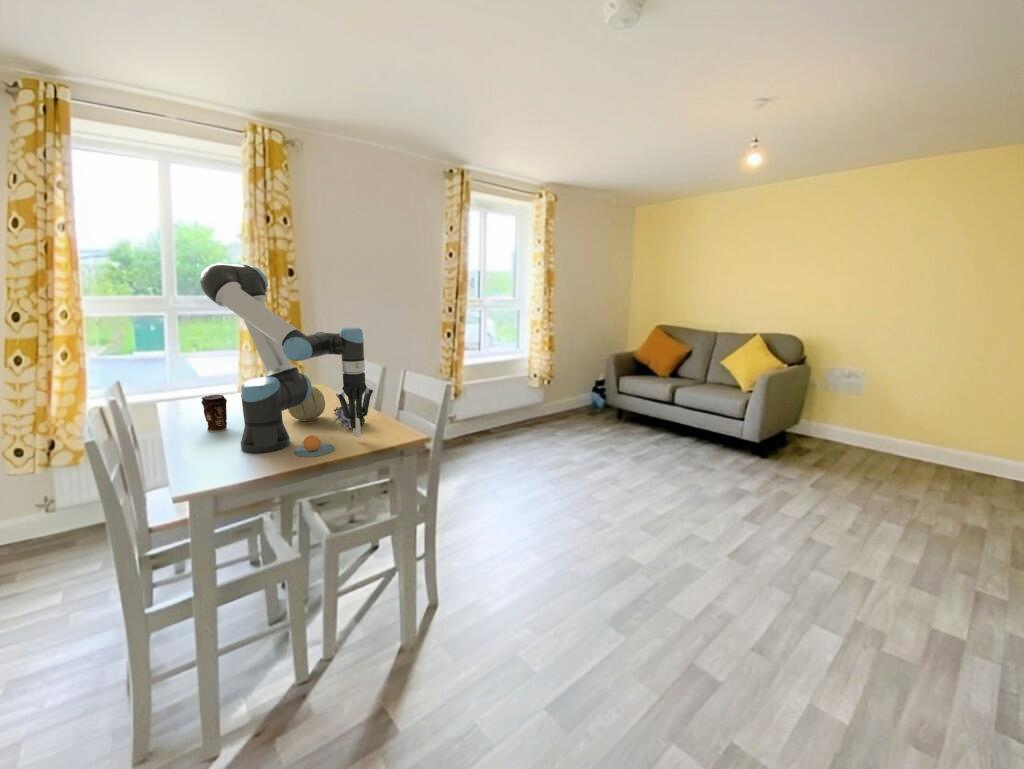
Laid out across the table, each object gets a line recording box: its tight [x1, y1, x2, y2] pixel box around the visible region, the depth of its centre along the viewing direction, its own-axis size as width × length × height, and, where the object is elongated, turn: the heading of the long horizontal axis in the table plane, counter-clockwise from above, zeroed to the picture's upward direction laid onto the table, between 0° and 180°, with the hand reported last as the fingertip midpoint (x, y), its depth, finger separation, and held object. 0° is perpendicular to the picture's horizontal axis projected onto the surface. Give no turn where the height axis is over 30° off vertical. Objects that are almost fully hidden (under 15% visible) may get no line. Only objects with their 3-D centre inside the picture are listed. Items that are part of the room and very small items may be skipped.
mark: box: [293, 442, 336, 458], centre depth 161 cm, size 13×13×1 cm
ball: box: [302, 434, 322, 452], centre depth 159 cm, size 6×6×6 cm
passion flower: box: [333, 401, 366, 429], centre depth 188 cm, size 11×11×12 cm
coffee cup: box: [200, 394, 228, 433], centre depth 179 cm, size 9×8×13 cm
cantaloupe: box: [287, 385, 326, 422], centre depth 193 cm, size 15×15×15 cm
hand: (357, 435), depth 170 cm, fingers closed
